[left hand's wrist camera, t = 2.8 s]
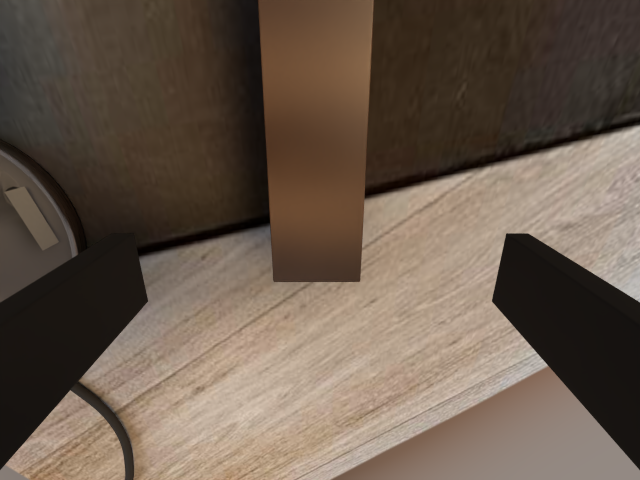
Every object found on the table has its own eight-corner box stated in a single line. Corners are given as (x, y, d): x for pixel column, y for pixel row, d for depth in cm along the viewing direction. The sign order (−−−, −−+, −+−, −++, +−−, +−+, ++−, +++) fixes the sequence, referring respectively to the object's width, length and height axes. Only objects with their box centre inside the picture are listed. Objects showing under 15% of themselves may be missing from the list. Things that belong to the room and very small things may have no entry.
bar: (347, 227, 26) (360, 282, 18) (287, 228, 26) (273, 282, 18) (361, -210, 17) (398, -474, 9) (271, -210, 17) (231, -476, 9)
